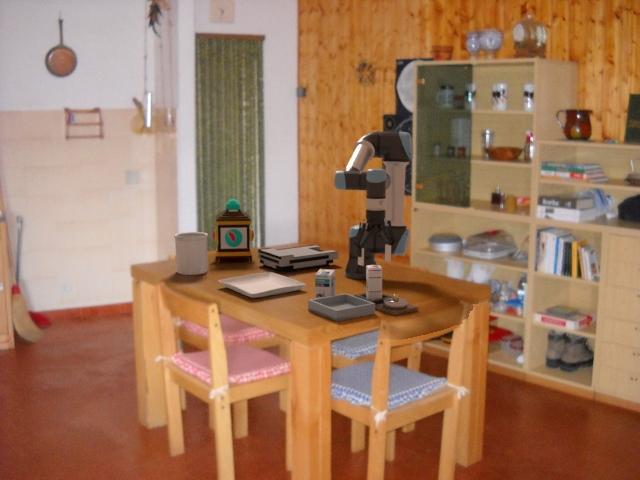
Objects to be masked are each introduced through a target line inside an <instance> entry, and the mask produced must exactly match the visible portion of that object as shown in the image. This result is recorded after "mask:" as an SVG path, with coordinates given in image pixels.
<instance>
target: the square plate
mask: <svg viewBox="0 0 640 480" xmlns="http://www.w3.org/2000/svg"><path fill="white" fill-rule="evenodd" d="M218 283H219V284H220V285H222V287H225V288H228V289H230V290H232V291H234V292H237V293H239V294H241V295H244V296H246V297H249V298H251V299H257V298H264V297H269V296H274V295H275V296H276V295H281V294H287V293H291V292H296V291H299V290H302V289H303V288H304V287H305V286H307V284H306V283H304V282H302V281H299V280H297V279H294V278H291V277H289V276H285V275H281V274H278V273H275V272H272V271H268V272H260V273H258V272H257V273H251V274H245V275H240V276H233V277H229V278H223V279H219V280H218Z"/></svg>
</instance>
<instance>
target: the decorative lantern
mask: <svg viewBox="0 0 640 480" xmlns="http://www.w3.org/2000/svg"><path fill="white" fill-rule="evenodd" d="M215 224H216V226H217V228H216V229H214V230H213V232H212V239H213V242H215V243H217V246H216V249H215V262H216V264H219V263H220V259H231V258H248V263H250V264H251V263H252V262H253V255H252V250H251V247H250V242H253V241H254V239H255V237H254V236H255V234H254V230H253V228H250V226H251V224H252V218H251V215H250V214H249V213H248V212H246V211H244V210H243V209H241V204H240V202H239V201H238V200H237V199H235V198H232V199H230V200H228V201H227V203H226V205H225V209H224V210H223V211H220V212H218V213H217V214H216V215H215Z"/></svg>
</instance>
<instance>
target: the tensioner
mask: <svg viewBox="0 0 640 480" xmlns="http://www.w3.org/2000/svg"><path fill="white" fill-rule="evenodd" d="M353 296H355V297H358V298H361V299H364V300H367V301H370V302H373V303H375V310H376V309H377V310H376V311H379V310H380V311H379V312H382V311H383V312H382V313H385V314H388V315H391V316H393V317H394V316H400V315H405V314H409V313H415V312H418V311H419V306H415V305H414V304H413V305H412V304H410V303H409V301H408V300H407V298H401V297H400V294H398V293H393V294H392V295H389V294H386V293H383V292H382V298H379V299H374V300H372V299H369V298H366V292H364V293H358V294H354V295H353Z"/></svg>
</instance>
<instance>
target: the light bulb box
mask: <svg viewBox="0 0 640 480" xmlns="http://www.w3.org/2000/svg"><path fill="white" fill-rule="evenodd" d="M314 275H315V276H314V277H315V279H314V280H315V281H314V282H315V289H314V291H315V292H314V293H315V294H314V295H315V297H314V299H316V298H322V297H328V296H333V295H336V269H325V268H319V270H318V271H317V272H316V273H315V274H314Z"/></svg>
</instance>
